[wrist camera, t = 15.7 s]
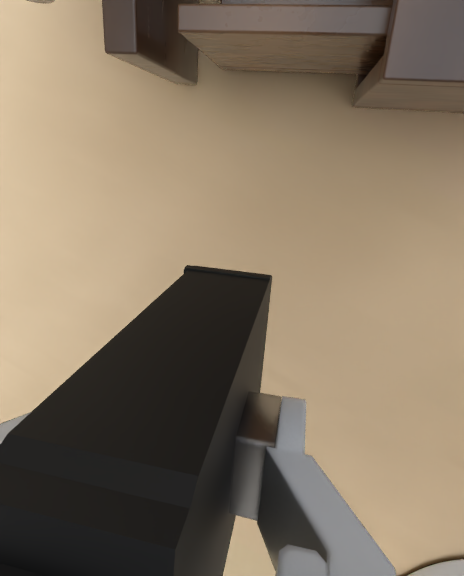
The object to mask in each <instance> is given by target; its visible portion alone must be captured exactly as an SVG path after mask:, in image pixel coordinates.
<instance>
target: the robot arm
mask: <svg viewBox="0 0 464 576" xmlns="http://www.w3.org/2000/svg"><path fill="white" fill-rule="evenodd" d="M280 406H281V407H280ZM30 413H31V412H30ZM30 413H27V414H25V415H22V416H19V417H17V418H14V419H11V420H9V421H6V422H3V423H1V424H0V444H1V443H2V441H3V440H4V438H5V437H6V435H7V434H8V433H9V432H10V431H11V430H12V429H13V428H14V427H15V426H17V425H18V424H19V423H20V422H21V421H22V420H23V419H24V418H25V417H26V416H28V415H29V414H30ZM279 413H280V414H279ZM278 421H279V422H278ZM305 428H306V401H305V399H299V398H293V397H286V396H282V400H281V396H276V395H270V394H264V393H258V392H252V391H249V392H248V395H247V399H246V402H245V406H244V409H243V413H242V417H241V420H240V424H239V427H238V431H237V434H236V438H235V447H234V459H233V471H232V483H231V495H230V507H229V513H230V514H234V515H238V516H242V517H245V518H249V519H253V520H256V521H257V524H258V526H259V529H260V532H261V534H262V537H263V540H264V542H265V545H266V548H267V550H268V553H269V555H270V558H271V561H272V563H273V566H274V569H275V571H276V574H275V576H396V571H395V568H394V567H393V565H392V564H391V562H390V561H389V560H388V558H387V557H386V556H385V554H384V553H383V552H382V550H381V549H380V548H379V546H378V545H377V543H376V542H375V541H374V539H373V538H372V537H371V535H370V534H369V533H368V531H367V530H366V529H365V527H364V526H363V524H362V523H361V522H360V520H359V519H358V518H357V516H356V515H355V514H354V512H353V511H352V510H351V508H350V507H349V505H348V504H347V503H346V501H345V500H344V499H343V497H342V496H341V495H340V493H339V492H338V490H337V489H336V488H335V486H334V485H333V484H332V482H331V481H330V480H329V478H328V477H327V476H326V474H325V473H324V471H323V470H322V469H321V467H320V466H319V465H318V463H317V462H316V461H315V459H314V458H313V457H312V456H310V455H305ZM407 576H464V559H460V560H452V561H446V562H441V563H437V564H433V565H430V566H427V567H424V568H422V569H420V570H417V571H415V572H413V573H411V574H409V575H407Z"/></svg>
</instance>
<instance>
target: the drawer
mask: <svg viewBox="0 0 464 576" xmlns="http://www.w3.org/2000/svg"><path fill="white" fill-rule="evenodd" d="M27 1H31V2H36V3H52V2H54V0H27ZM392 5H393V0H221V4H199V0H102V6H103V24H104V43H105V52H106V53H107V54H109V55H111V56H114V57H116V58H118V59H120V60H123V61H125V62H127V63H130V64H132V65H134V66H136V67H139V68H141V69H143V70H145V71H148V72H150V73H152V74H154V75H157V76H159V77H161V78H164V79H166V80H168V81H170V82H173V83H175V84H185V85H196V84H197V67H198V49H199V50H200V51H202V52H203V53H204V54H205V55H206V56H208V57H209V58H210V59H211V60H212V61H214V62H215V63H216V64H217V65H218V66H219V67H220V68H221V69H226V70H254V71H281V72H309V73H337V74H364V75H368V74H369V72H370V71H371V70H372V69H373V68H374V66H375V65H376V64H377V63H378V61H379V60H380V59H381V58H382V57H383V55H384V49H385V44H386V38H387V33H388V27H389V22H390V16H391V11H392Z"/></svg>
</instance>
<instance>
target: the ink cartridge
mask: <svg viewBox="0 0 464 576" xmlns="http://www.w3.org/2000/svg"><path fill="white" fill-rule="evenodd" d="M271 283H272V275H265V274H257V273H249V272H241V271H233V270H225V269H217V268H209V267H201V266H189V265H187V266H186V267H185V269H184V274H183V275H182V276H181V277H180V278H179V279H178V280H177V281H175V282H174V283H173V284H172V285H171V286H170V287H169V288H168V289H167V290H166V291H164V292H163V293H162V294H161V295H160V296H159V297H158V298H157V299H156V300H155V301H153V302H152V303H151V304H150V305H149V306H148V307H147V308H146V309H145V310H143V311H142V312H141V313H140V314H139V315H138V316H137V317H136V318H135V319H134V320H132V321H131V322H130V323H129V324H128V325H127V326H126V327H125V328H124V329H123V330H121V331H120V332H119V333H118V334H117V335H116V336H115V337H114V338H113V339H111V340H110V341H109V342H108V343H107V344H106V345H105V346H104V347H103V348H102V349H100V350H99V351H98V352H97V353H96V354H95V355H94V356H93V357H92V358H91V359H89V360H88V361H87V362H86V363H85V364H84V365H83V366H82V367H81V368H79V369H78V370H77V371H76V372H75V373H74V374H73V375H72V376H71V377H70V378H68V379H67V380H66V381H65V382H64V383H63V384H62V385H61V386H60V387H59V388H57V389H56V390H55V391H54V392H53V393H52V394H51V395H50V396H49V397H47V398H46V399H45V400H44V401H43V402H42V403H41V404H40V405H39V406H38V407H36V408H35V409H34V410H33V411H32V412H31V413H30V414H29V415H28V416H26V417H25V418H24V419H23V420H22V421H21V422H20V423H19V424H18V425H17V426H15V427H14V428H13V429H12V430H11V431H10V432H9V433H8V434H7V435H6V437H5V438H4V440H3V441H2V443H1V444H0V576H223V571H224V567H225V562H226V558H227V553H228V549H229V544H230V539H231V535H232V530H233V526H234V521H235V517H236V515H234V514H230V513H229V507H230V495H231V483H232V471H233V459H234V447H235V438H236V434H237V431H238V427H239V424H240V420H241V417H242V413H243V409H244V406H245V402H246V399H247V395H248V392H249V391H252V392H258V393H260V388H261V378H262V369H263V359H264V350H265V340H266V331H267V321H268V311H269V302H270V292H271Z"/></svg>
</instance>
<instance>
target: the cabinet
mask: <svg viewBox="0 0 464 576" xmlns="http://www.w3.org/2000/svg"><path fill="white" fill-rule="evenodd" d="M352 107H353V108H372V109H392V110H412V111H432V112H452V113H464V0H393V5H392V11H391V16H390V22H389V27H388V33H387V38H386V44H385V49H384V55H383V57H382V58H381V59H380V60H379V61H378V63H377V64H376V65H375V66H374V68H373V69H372V70H371V71H370V72H369V74H368V75H364V74H357V77H356V83H355V89H354V96H353V102H352Z"/></svg>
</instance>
